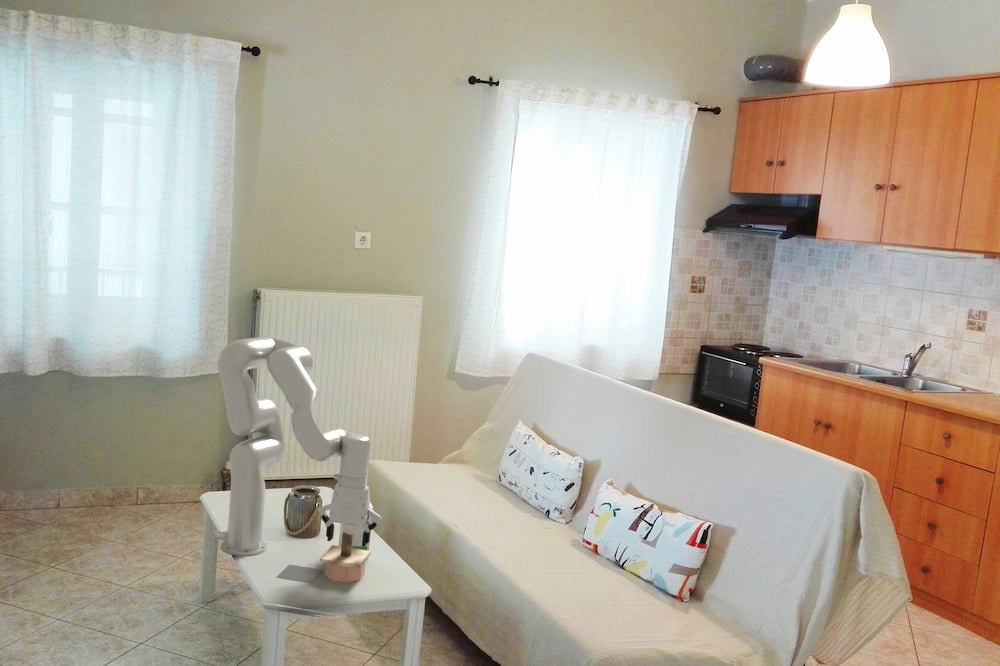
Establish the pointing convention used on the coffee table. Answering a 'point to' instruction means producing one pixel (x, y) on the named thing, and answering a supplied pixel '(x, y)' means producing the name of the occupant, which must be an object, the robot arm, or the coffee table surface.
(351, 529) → the skincare box
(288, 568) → the mat
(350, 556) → the lid
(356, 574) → the bowl
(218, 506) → the coffee table surface
